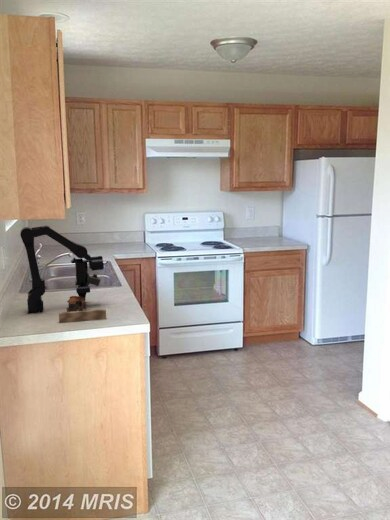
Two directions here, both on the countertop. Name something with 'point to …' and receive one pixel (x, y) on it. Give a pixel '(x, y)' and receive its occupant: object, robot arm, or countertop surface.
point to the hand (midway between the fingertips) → (83, 302)
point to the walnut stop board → (82, 315)
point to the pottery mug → (76, 304)
